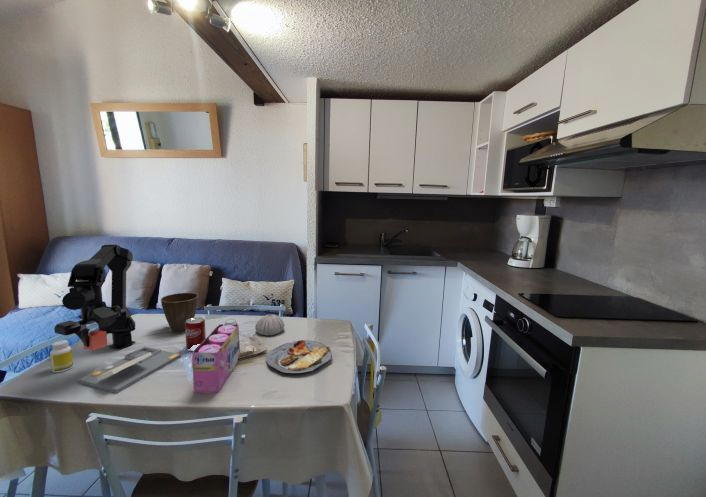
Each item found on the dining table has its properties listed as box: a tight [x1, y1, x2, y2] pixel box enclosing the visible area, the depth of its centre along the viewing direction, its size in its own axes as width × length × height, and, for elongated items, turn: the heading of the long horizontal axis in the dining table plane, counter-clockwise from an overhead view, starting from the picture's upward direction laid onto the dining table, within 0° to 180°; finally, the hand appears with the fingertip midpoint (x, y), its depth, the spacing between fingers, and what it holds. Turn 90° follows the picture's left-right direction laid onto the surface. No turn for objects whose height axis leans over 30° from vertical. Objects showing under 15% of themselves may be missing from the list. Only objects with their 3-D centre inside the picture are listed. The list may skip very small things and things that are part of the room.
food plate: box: [265, 339, 333, 374], centre depth 117 cm, size 25×23×4 cm
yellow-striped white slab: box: [97, 352, 152, 381], centre depth 101 cm, size 8×13×1 cm, turn 163°
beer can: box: [223, 318, 238, 326], centre depth 123 cm, size 5×5×12 cm
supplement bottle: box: [49, 339, 74, 374], centre depth 105 cm, size 5×5×10 cm
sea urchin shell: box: [254, 314, 285, 336], centre depth 142 cm, size 13×14×8 cm
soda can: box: [184, 316, 207, 350], centre depth 123 cm, size 7×7×12 cm
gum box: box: [191, 323, 241, 394], centre depth 106 cm, size 24×8×14 cm, turn 4°
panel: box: [77, 349, 182, 394], centre depth 107 cm, size 17×24×3 cm
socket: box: [124, 345, 162, 363], centre depth 114 cm, size 8×8×1 cm
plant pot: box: [160, 292, 199, 334], centre depth 140 cm, size 15×15×16 cm
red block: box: [82, 328, 108, 351], centre depth 103 cm, size 4×4×6 cm
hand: (95, 343), depth 104 cm, fingers closed on red block, 4 cm apart
